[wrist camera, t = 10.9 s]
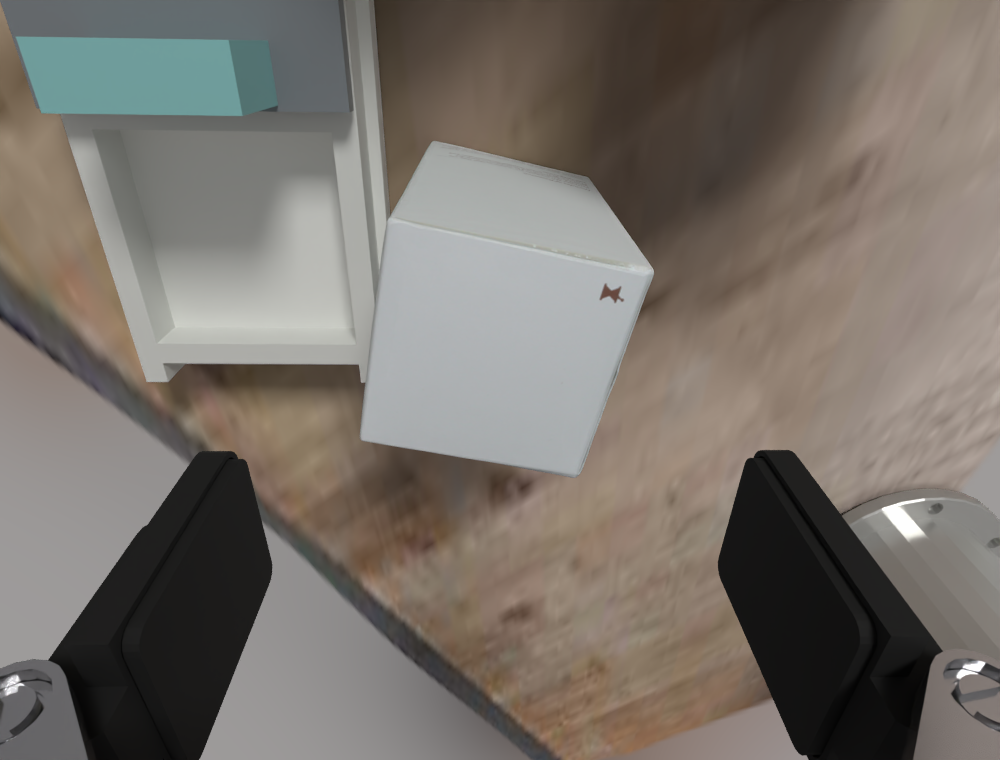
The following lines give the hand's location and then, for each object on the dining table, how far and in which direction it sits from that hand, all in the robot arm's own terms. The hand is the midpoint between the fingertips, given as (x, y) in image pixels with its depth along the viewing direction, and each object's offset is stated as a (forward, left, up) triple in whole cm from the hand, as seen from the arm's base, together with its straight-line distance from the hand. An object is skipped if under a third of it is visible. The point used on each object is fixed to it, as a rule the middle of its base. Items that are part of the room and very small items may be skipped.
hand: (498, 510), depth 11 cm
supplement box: (0, 0, -19) cm, 19 cm away
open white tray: (+4, +11, -19) cm, 22 cm away
